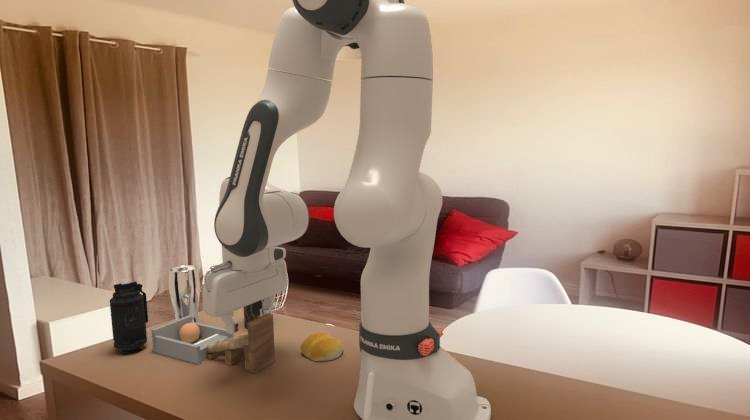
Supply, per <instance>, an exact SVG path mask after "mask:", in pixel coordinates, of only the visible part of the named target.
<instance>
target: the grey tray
mask: <svg viewBox="0 0 750 420" xmlns="http://www.w3.org/2000/svg"><path fill="white" fill-rule="evenodd" d="M187 323H194V324H196V325H197V326H198V327H199V329H200V336H199V338H198V339H197V340H196V341H195V342H192V343H186V342H183V341H182V340H181V339H180V336H179V331H180V329H181V327H182V326H183V325H185V324H187ZM232 337H234V333H233V334H229V333H227V332H226V328H222V327H217V326H214V325H210V324H204V323H201V322H200V323H196V322H193V321H192V316H190V315H189V316H186V317H183V318H181V319H178V320H175V319H174V320H173V321H171V322H168V323H166V324H163V325H160V326H158V327H155V328H152V329H151V340H152V342H151V343H152V352H153V353H156V354H159V355H163V356H166V357H170V358H174V359H177V360H181V361H185V362H189V363H191V364H194V365H195V364H196V365H199V364H201V363H202V362H203V361H205V360H208V359H207V358H206V354H208V352H207V351H206V348H207V346H208V345H210V344H215V343H217V341H218V340H221V339H226V338H232Z"/></svg>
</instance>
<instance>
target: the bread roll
mask: <svg viewBox="0 0 750 420" xmlns="http://www.w3.org/2000/svg"><path fill="white" fill-rule="evenodd" d="M300 351H301V352H302V354H303V356H305V357H306V358H309V359H310V360H311V361H314V362H327V361H333V360H336V359H337V358H340V356H342V354H343V352H344V346H343V343H342V340H340V339H338V338H335V337H333V336H331V335H330V334H328V333H325V332H316V333H312V334H310V335H309V336H307V337H306V338H304V340H303V341H302V343H301V345H300Z"/></svg>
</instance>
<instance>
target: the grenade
mask: <svg viewBox="0 0 750 420" xmlns="http://www.w3.org/2000/svg"><path fill="white" fill-rule="evenodd" d="M113 289H114V292H113V293H112V297H111V298H110V299H109V309H110V319H111V331H112V339H113V347H114V348H115V349H116V350H118V351H121V353H122V354H131V353H132V354H133V353H135V352H136V353H137V352H139V351H140V350H141V349H142V347H143V346H144V345H145V344H146V343H148V337H147V333H148V332H147V324H148V322H149V315H148V313H149V312H148V301H147V293H146V292H145V291H143V284H141V283H138V282H137V281H131V282H128V283H116V284H113Z"/></svg>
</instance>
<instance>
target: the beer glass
mask: <svg viewBox="0 0 750 420" xmlns="http://www.w3.org/2000/svg"><path fill="white" fill-rule="evenodd" d="M168 291H169V297H170V301H171V305H172V308H173V309H172V310H173V313H174V321H175V320H178V319H181V318H183V317H186V316H189V315H190V316H192V321H193V322H196V323H200V324H201V322H200V321H201V320H200V317H199V304H200V297H201V296H200V295H201V282H200V273H199V267H198V266H197V265H193V264H191V265H190V264H188V265H187V264H186V265H179V266H177V265H176V266H173V267H171V268H169V269H168Z"/></svg>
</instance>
